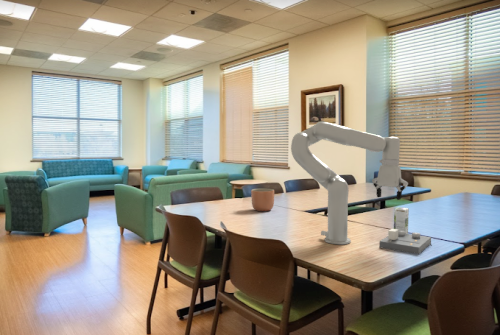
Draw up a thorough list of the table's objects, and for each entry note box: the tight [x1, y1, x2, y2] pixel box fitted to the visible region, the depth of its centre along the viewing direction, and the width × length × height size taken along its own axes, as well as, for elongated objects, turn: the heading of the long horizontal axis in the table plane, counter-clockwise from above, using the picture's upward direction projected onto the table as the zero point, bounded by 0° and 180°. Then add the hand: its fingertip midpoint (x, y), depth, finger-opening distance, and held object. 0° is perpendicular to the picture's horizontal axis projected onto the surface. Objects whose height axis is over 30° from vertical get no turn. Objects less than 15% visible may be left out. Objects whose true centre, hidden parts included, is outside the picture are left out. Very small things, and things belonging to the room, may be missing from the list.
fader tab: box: [387, 228, 398, 240], centre depth 169 cm, size 3×5×4 cm, turn 141°
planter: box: [250, 188, 275, 212], centre depth 265 cm, size 17×17×15 cm
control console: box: [379, 231, 432, 255], centre depth 169 cm, size 17×22×5 cm
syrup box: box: [393, 206, 410, 234], centre depth 188 cm, size 6×6×14 cm
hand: (388, 198), depth 173 cm, fingers open, 9 cm apart
